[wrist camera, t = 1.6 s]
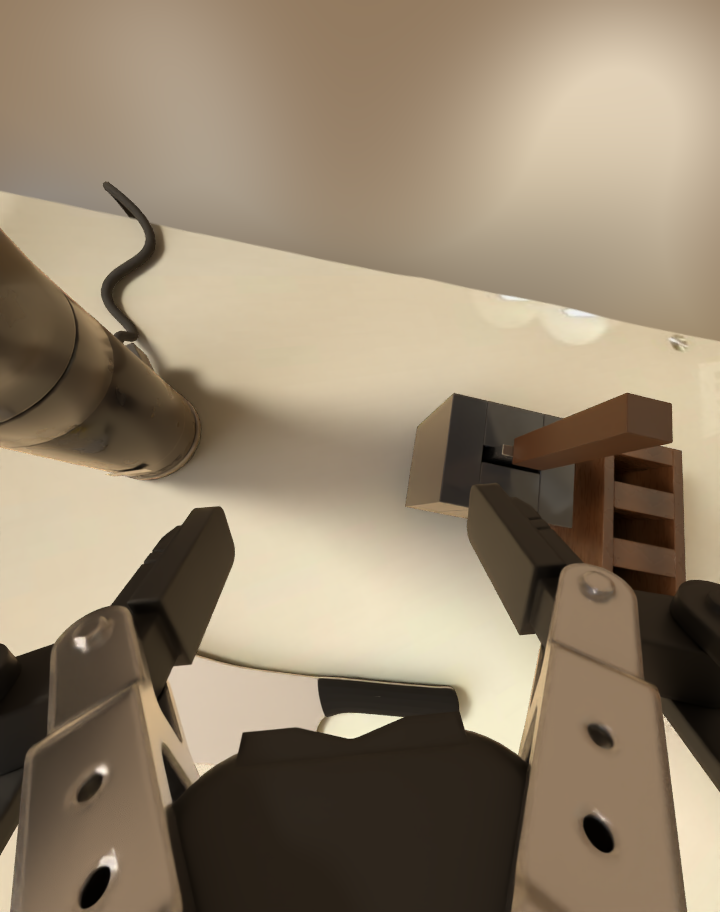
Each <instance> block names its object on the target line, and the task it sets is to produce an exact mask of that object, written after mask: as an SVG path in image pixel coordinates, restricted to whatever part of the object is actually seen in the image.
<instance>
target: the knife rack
mask: <svg viewBox="0 0 720 912" xmlns="http://www.w3.org/2000/svg"><path fill="white" fill-rule="evenodd" d="M551 529H553V530H554V531H555V532H556V533H557V534H558V535H559V536H560V537H561V539H562V540H563V541H564V542H565V543H566V544H567V545H568V546H569V547H570V548H571V549H572V550H573V552H574V553H575V554H576V555H577V556H578V557H579V558H580V559H581V560H582V561H583V562H584V563H585V564H591V565H595V566H598V567H601V568H604V569H606V570H608V571H610V572H612V573H614V574H616V575H617V576H619V577H620V578H622V579H623V580H624V581H625V582H626V583H627V584H628V585H629V586H630V587H631V588H632V589H633V590H638V591H645V592H651V593H657V594H664V595H670V596H675V594H676V592H677V590H678V588H679V586H680V585H681V584H682V583H683V582H686V572H685V539H684V506H683V473H682V451H680V450H676V449H672V448H667V447H663V446H655V447H650V448H646V449H641V450H636V451H632V452H627V453H622V454H618V455H613V456H608V457H603V458H599V459H594V460H589V461H585V462H580V463H575V475H574V499H573V523H572V528H551Z"/></svg>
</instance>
